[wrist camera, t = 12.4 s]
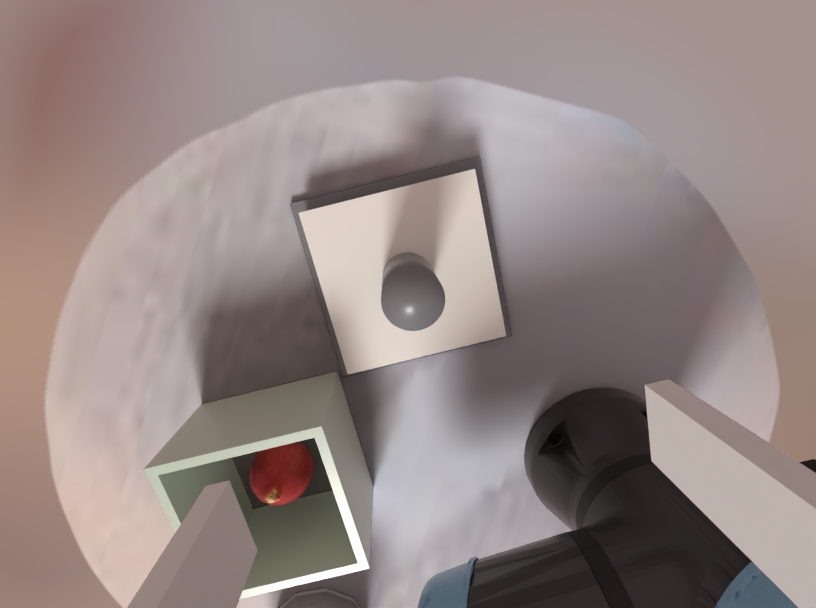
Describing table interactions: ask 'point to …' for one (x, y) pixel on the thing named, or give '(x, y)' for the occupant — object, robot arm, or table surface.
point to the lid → (406, 271)
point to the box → (289, 523)
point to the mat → (385, 186)
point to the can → (320, 600)
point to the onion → (281, 473)
